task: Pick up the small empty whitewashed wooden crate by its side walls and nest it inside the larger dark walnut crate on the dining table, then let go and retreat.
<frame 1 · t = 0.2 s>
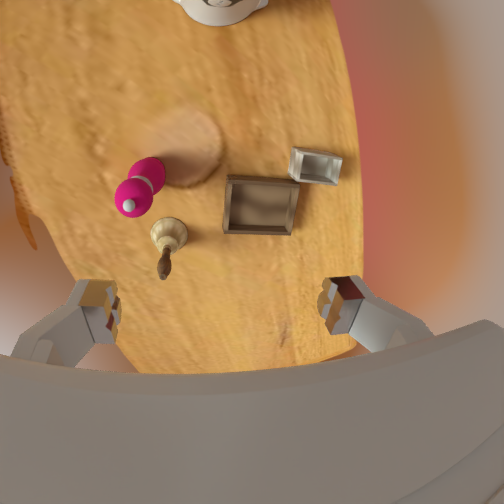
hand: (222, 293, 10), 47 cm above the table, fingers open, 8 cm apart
hand bell: (169, 233, 60), on the table
pepper mill: (150, 171, 52), on the table
big crate: (258, 202, 60), on the table
small crate: (309, 162, 57), on the table
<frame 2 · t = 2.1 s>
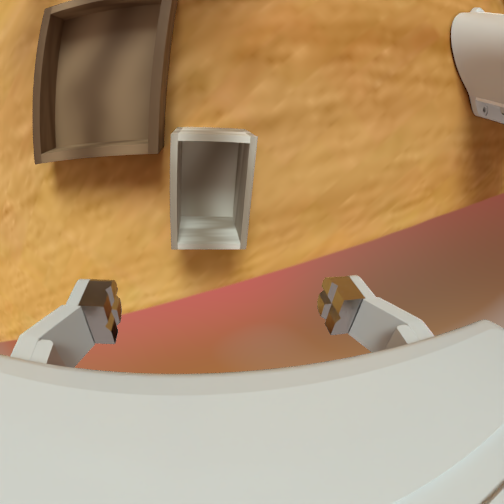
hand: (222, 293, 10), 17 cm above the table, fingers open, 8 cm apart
big crate: (105, 73, 18), on the table
small crate: (208, 174, 25), on the table
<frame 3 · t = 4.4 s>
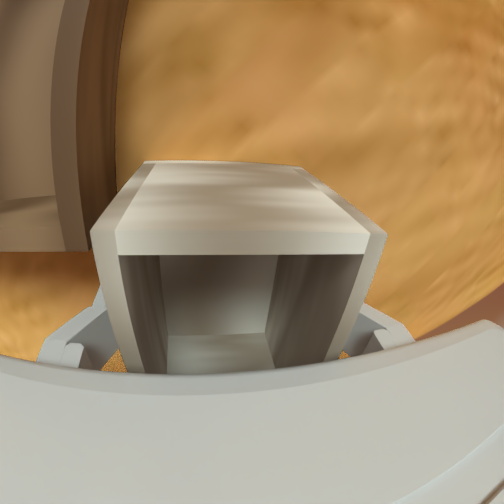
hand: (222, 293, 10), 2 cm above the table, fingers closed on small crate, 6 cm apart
big crate: (4, 56, 5), on the table
small crate: (218, 263, 12), on the table, touching gripper
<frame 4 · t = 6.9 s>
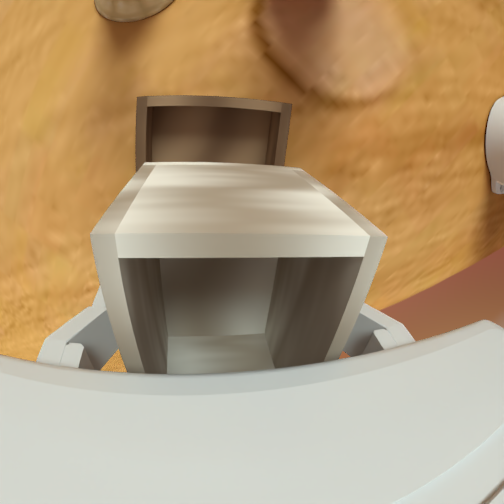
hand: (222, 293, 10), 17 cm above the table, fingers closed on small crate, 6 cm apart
big crate: (207, 177, 24), on the table
small crate: (218, 264, 12), point 14 cm above the table, touching gripper
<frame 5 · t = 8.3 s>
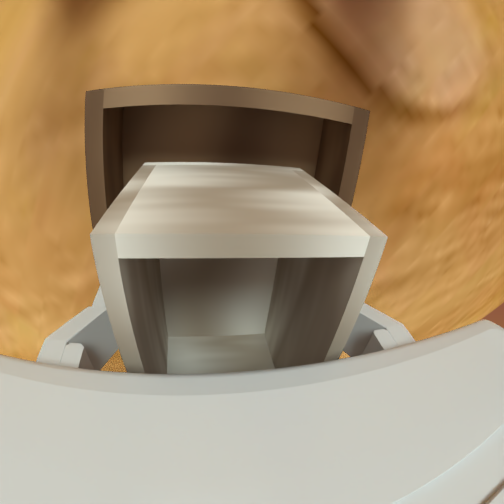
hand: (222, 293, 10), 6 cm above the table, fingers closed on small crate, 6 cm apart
big crate: (216, 223, 16), on the table
small crate: (218, 265, 12), point 4 cm above the table, touching gripper
when the fingers open (4 cm above the table, at t = 9.5 s): small crate drops 2 cm, resting on big crate.
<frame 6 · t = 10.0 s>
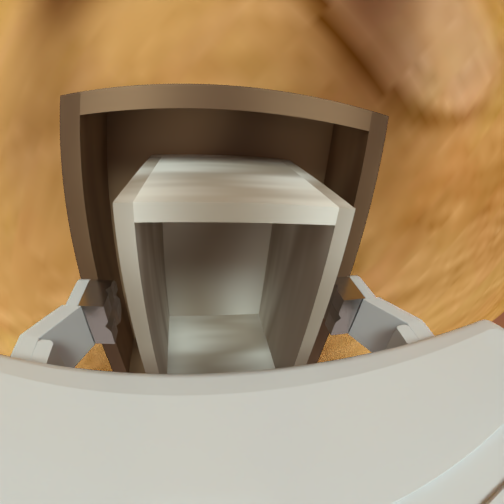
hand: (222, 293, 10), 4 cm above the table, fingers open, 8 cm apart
big crate: (213, 240, 14), on the table
small crate: (215, 247, 14), point 1 cm above the table, touching big crate
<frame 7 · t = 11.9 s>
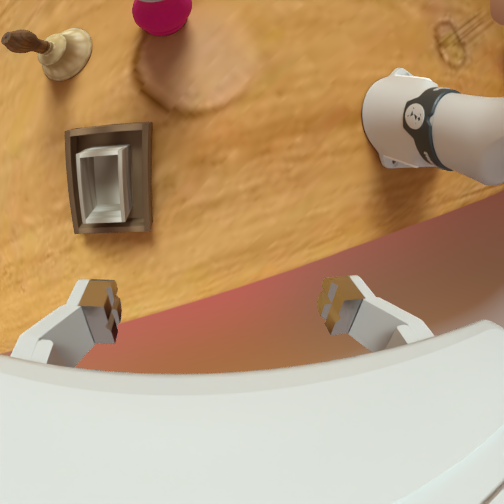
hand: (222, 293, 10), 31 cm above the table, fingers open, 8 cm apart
hand bell: (67, 54, 24), on the table
pepper mill: (164, 17, 25), on the table
big crate: (112, 175, 35), on the table
small crate: (111, 176, 34), point 1 cm above the table, touching big crate
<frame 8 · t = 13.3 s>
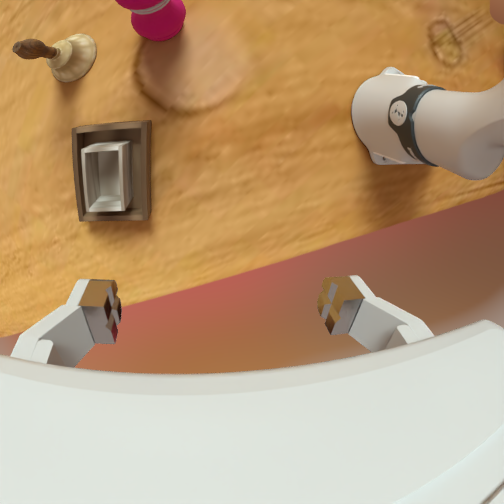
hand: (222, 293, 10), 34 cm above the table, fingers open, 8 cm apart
hand bell: (73, 57, 27), on the table
pepper mill: (162, 24, 28), on the table
big crate: (115, 168, 38), on the table
small crate: (114, 169, 38), point 1 cm above the table, touching big crate
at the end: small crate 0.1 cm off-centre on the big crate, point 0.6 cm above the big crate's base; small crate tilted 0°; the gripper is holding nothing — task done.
